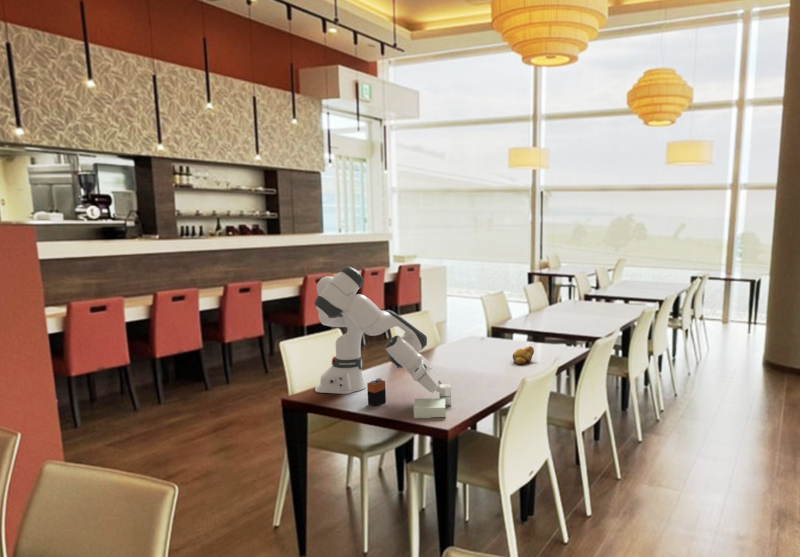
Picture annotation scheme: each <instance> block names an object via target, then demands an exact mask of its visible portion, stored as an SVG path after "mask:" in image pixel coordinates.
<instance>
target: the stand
mask: <svg viewBox="0 0 800 557" xmlns="http://www.w3.org/2000/svg"><path fill="white" fill-rule="evenodd" d="M413 402H414V404H413V419H432V418H431V417H447V412H446V411H447V410H446V407H447V406H445V398H440V397H439V398H438V397H437V398H414V401H413Z"/></svg>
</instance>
